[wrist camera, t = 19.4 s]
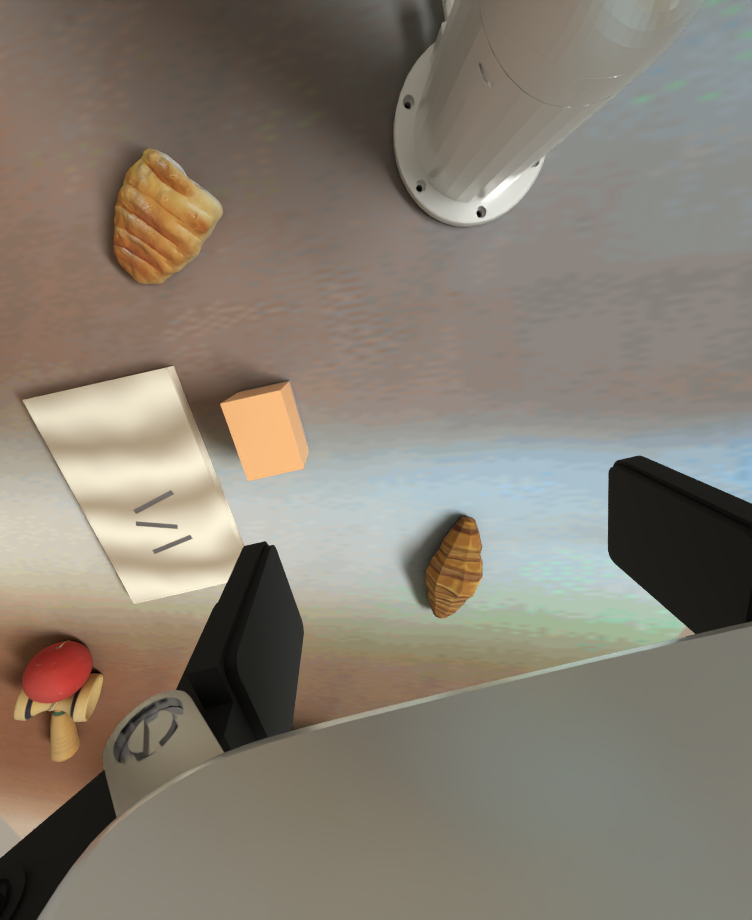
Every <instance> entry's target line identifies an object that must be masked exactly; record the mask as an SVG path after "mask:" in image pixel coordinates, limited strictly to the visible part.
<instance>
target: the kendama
mask: <svg viewBox="0 0 752 920" xmlns="http://www.w3.org/2000/svg"><path fill="white" fill-rule="evenodd" d="M92 664H93V661H92V655H91V653H90V651H89V650H88V649H87V648H86V647H85V646H84V645H82V644H80V643H78V642H73V641H70V640H68V641H63V642H59V643H55V644H52V645H50V646H48V647H46V648H44V649H42V650H41V651H40V652H39V653H37V654H36V655H35V656H34V657H33V658H32V659H31V661H30V662H29V663H28V665H27V666H26V668H25V670H24V673H23V677H22V690H21V692H20V694H19V696H18V699H17V701H16V704H15V709H14V718H15V720H28V719H29V718H31V717H33V716H34V715H36V714H38V713H40V712H43V711H46V710H48V711H52V716H51V724H50V758H51V759H52V760H53V761H55V762H61V761H64V760H67V759H68V758H70V757H71V756H73V755H74V754H75V753H76V751H77V750H78V748H79V746H80V738H79V735H78V731H77V728H76V723H75V722H84V721H87V720H88V719H89V718H90V716H91V714H92V713H93V711H94V709H95V706H96V704H97V701H98V698H99V695H100V692H101V687H102V682H103V676H102V674H95V673H91V670H92ZM90 673H91V674H90Z"/></svg>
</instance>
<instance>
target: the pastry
mask: <svg viewBox="0 0 752 920" xmlns="http://www.w3.org/2000/svg"><path fill="white" fill-rule="evenodd" d="M222 214H223V209H222V205H221V203H220V202H219V201H218V200H217V199H216V198H215V197H214V196H213V195H212V194H210V193H209V192H208V191H207V190H205V189H204V188H203V187H201V186H200V185H198V184H197V183H196V182H194V181H193V180H191V179H190V178H188V177H187V175H186V174H185V172H184V170H183V169H182V167H181V166H180V165H179V164H178V163H177V162H175V161H174V160H173V159H172V158H171V157H169V156H168V155H166V154H165V153H162V152H160V151H158V150H156V149H151V148H148V149H146V150H144V152H143V156H142V157H141V158H140V159H139V160H138V161H137V162H136V163H135V164H134V165H133V166H132V167H131V168H129V170H128V171H127V172H126V175H125V179H124V182H123V186H122V187H121V189H120V191H119V193H118V199H117V203H116V205H115V217H114V225H115V229H114V231H115V232H114V238H113V240H114V243H113V248H114V254H115V256H116V258H117V260H118V262H119V264H120V265H121V266H122V267H123V269H124V270H126V271H127V272H128V273H129V274H130V275H131V276H132V277H133V278H134V279H135V280H136V281H137V282H139V283H141V284H161V283H163V282H164V281H165V280H166V279H167V278H169V277H171V276H172V275H173V274H174V273H177V272H179V271H181V269H182V268H183V267H184V266H185V265H186V264H187V263H189V262H191V261H193V260H194V258H195V257H196V256H197V255H198V254H199V253H200V251H201V246H202V244H203V243H204V242H205V241H206V239H208V237H209V236H210V234H211V233H212V231H213V229H214V227H215V226H216V224H217V221H218V220H219V219H220V218H221V217H222Z"/></svg>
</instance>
